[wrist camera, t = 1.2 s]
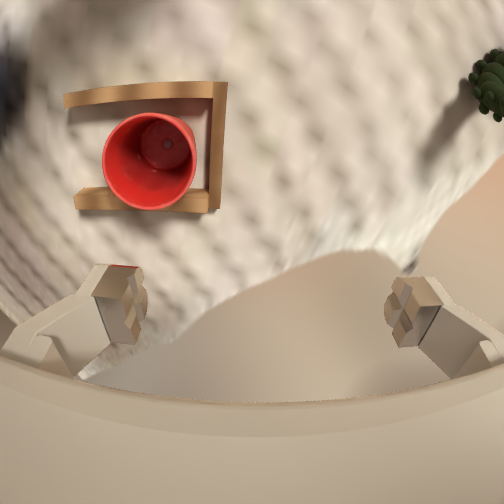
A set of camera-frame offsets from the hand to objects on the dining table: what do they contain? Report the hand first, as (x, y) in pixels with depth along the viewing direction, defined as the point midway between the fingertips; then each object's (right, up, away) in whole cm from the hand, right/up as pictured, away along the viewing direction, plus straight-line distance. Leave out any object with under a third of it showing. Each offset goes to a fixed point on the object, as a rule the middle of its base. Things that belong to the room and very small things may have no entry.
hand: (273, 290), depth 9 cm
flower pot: (-12, +16, +27) cm, 34 cm away
